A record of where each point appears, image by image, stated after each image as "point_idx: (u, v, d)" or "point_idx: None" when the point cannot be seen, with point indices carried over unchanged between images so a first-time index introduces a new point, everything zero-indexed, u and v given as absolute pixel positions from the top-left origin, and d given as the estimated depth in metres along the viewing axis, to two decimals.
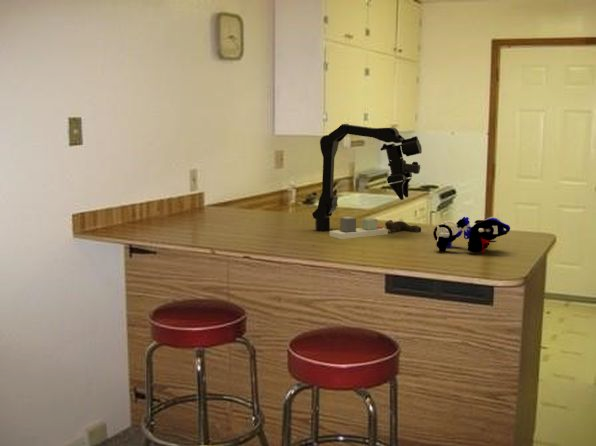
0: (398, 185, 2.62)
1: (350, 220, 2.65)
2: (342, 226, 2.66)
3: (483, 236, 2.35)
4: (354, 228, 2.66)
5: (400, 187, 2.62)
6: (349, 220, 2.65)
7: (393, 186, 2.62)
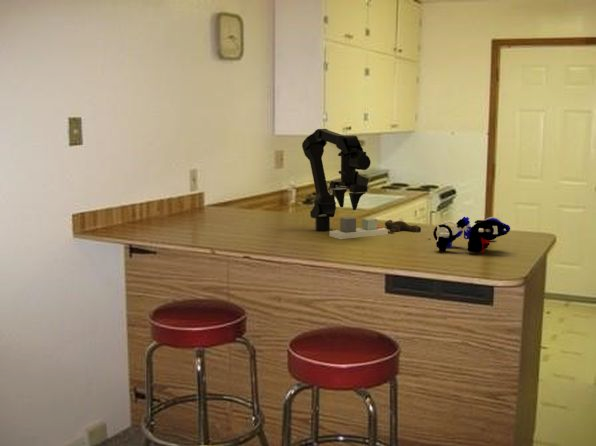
0: (356, 195, 2.60)
1: (350, 220, 2.65)
2: (342, 226, 2.66)
3: (483, 236, 2.35)
4: (354, 228, 2.66)
5: (358, 198, 2.61)
6: (349, 220, 2.65)
7: (353, 196, 2.59)
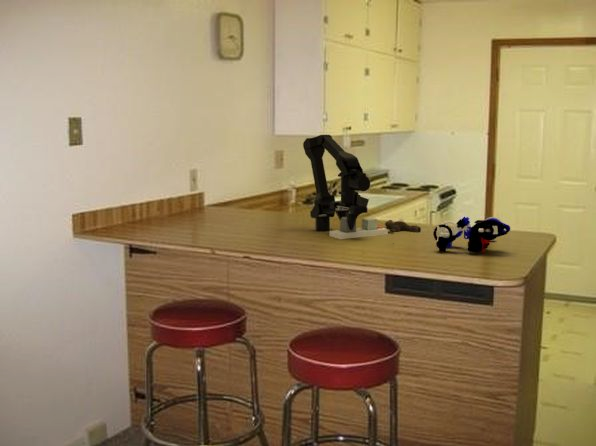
0: (353, 215, 2.63)
1: None
2: (342, 226, 2.66)
3: (483, 236, 2.35)
4: (354, 228, 2.66)
5: (354, 217, 2.64)
6: None
7: (350, 216, 2.62)
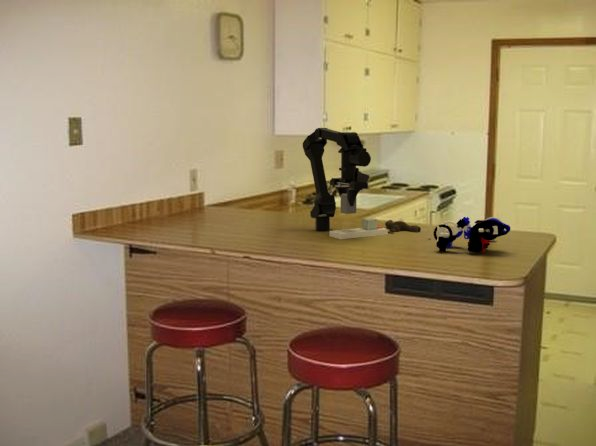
0: (353, 191, 2.62)
1: None
2: (343, 202, 2.65)
3: (483, 236, 2.35)
4: (354, 204, 2.65)
5: (355, 194, 2.62)
6: None
7: (350, 192, 2.60)
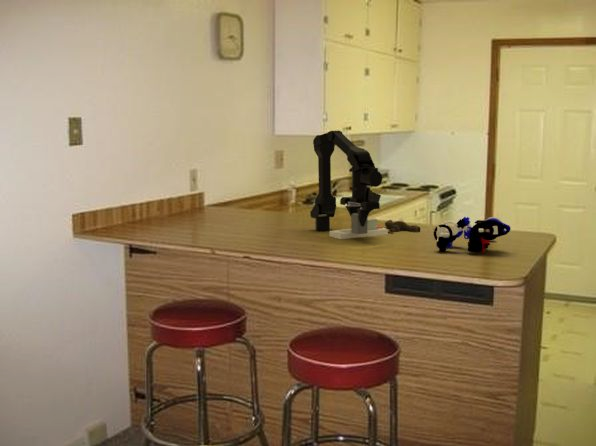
0: (364, 211, 2.56)
1: None
2: (354, 222, 2.59)
3: (483, 236, 2.35)
4: (365, 224, 2.59)
5: (366, 214, 2.56)
6: None
7: (361, 212, 2.55)
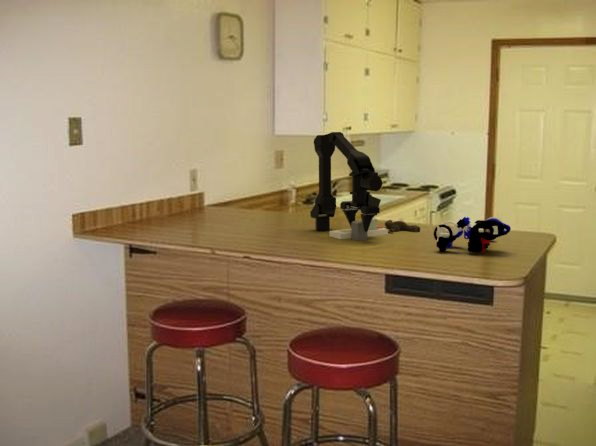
0: (368, 217, 2.54)
1: (361, 224, 2.58)
2: (353, 230, 2.60)
3: (483, 236, 2.35)
4: (365, 232, 2.59)
5: (370, 219, 2.55)
6: (360, 224, 2.58)
7: (365, 217, 2.53)
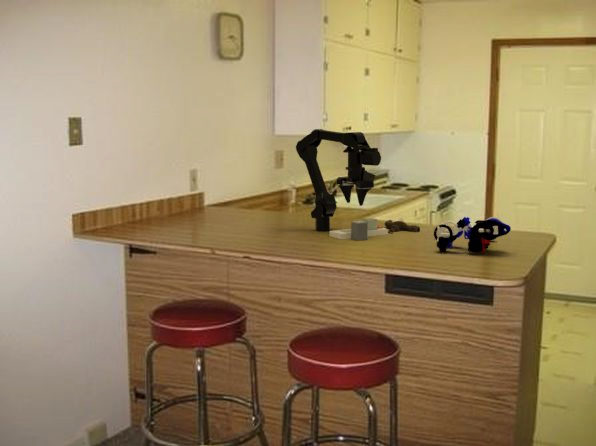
0: (363, 191, 2.65)
1: (361, 224, 2.58)
2: (353, 230, 2.60)
3: (483, 236, 2.35)
4: (365, 232, 2.59)
5: (364, 193, 2.65)
6: (360, 224, 2.58)
7: (359, 191, 2.63)
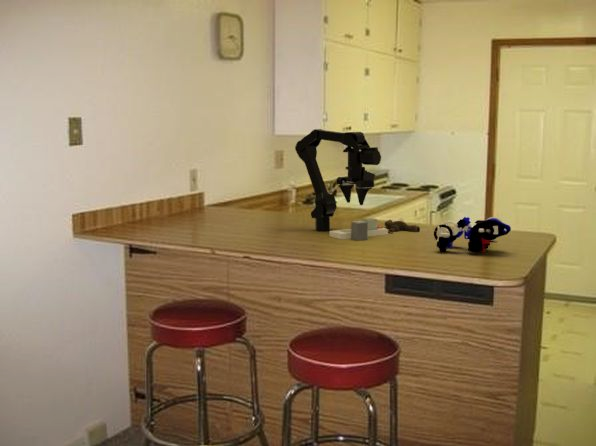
0: (363, 190, 2.65)
1: (361, 224, 2.58)
2: (353, 230, 2.60)
3: (483, 236, 2.35)
4: (365, 232, 2.59)
5: (364, 193, 2.65)
6: (360, 224, 2.58)
7: (360, 191, 2.64)
